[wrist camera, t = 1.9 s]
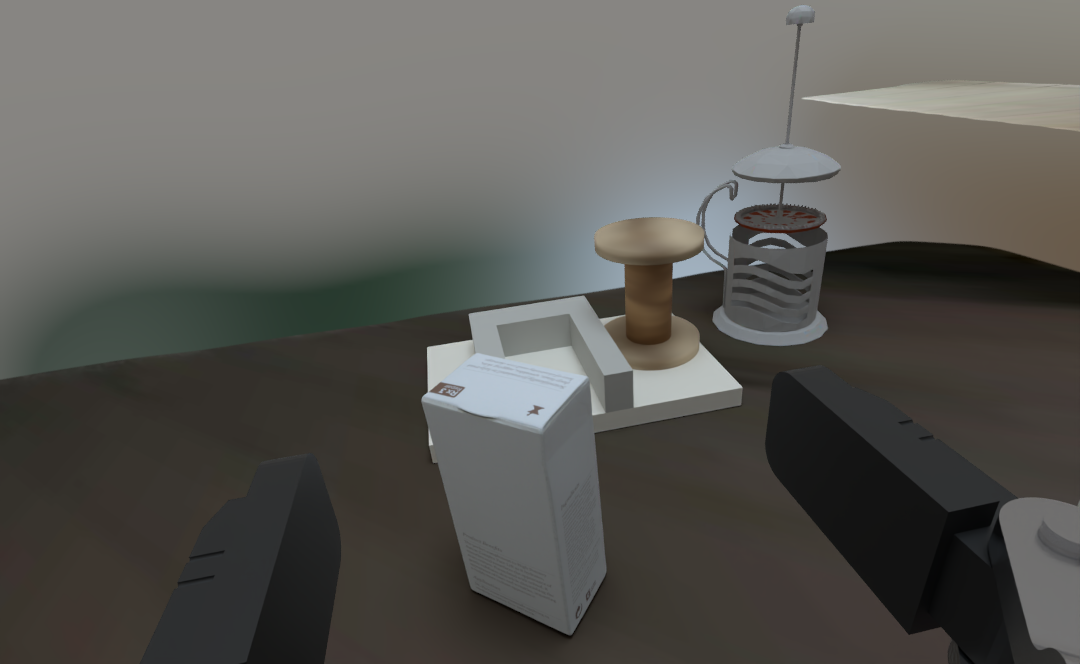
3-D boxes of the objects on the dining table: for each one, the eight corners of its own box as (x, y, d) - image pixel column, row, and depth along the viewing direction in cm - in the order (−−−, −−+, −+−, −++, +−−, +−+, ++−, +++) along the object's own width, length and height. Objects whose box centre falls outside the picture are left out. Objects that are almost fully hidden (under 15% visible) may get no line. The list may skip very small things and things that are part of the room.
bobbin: (675, 317, 51) (678, 212, 46) (716, 360, 44) (724, 241, 39) (588, 331, 50) (582, 225, 45) (616, 378, 43) (612, 258, 38)
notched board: (666, 322, 53) (667, 277, 51) (741, 405, 41) (745, 350, 39) (430, 362, 50) (421, 316, 48) (433, 463, 38) (420, 407, 36)
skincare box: (609, 572, 29) (600, 370, 24) (569, 646, 26) (548, 431, 20) (509, 532, 32) (479, 344, 27) (461, 594, 29) (416, 394, 23)
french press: (819, 354, 46) (876, -4, 34) (678, 331, 51) (687, 16, 40) (834, 305, 53) (885, -3, 42) (709, 289, 59) (724, 13, 47)
